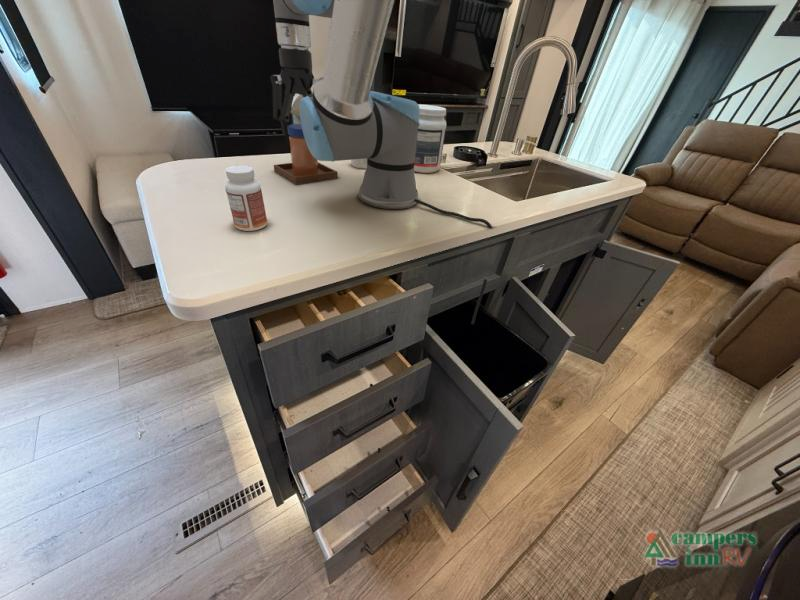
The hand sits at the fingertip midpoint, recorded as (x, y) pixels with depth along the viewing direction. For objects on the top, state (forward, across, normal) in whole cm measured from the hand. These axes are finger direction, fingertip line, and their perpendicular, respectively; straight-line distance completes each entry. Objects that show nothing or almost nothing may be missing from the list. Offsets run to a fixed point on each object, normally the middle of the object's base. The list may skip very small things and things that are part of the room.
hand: (303, 150), depth 90 cm
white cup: (+7, +12, +17) cm, 22 cm away
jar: (+6, 0, 0) cm, 6 cm away
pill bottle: (+7, +5, -36) cm, 37 cm away
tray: (+7, 0, 0) cm, 7 cm away
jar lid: (-6, 0, 0) cm, 6 cm away
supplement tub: (+7, +31, +24) cm, 40 cm away
